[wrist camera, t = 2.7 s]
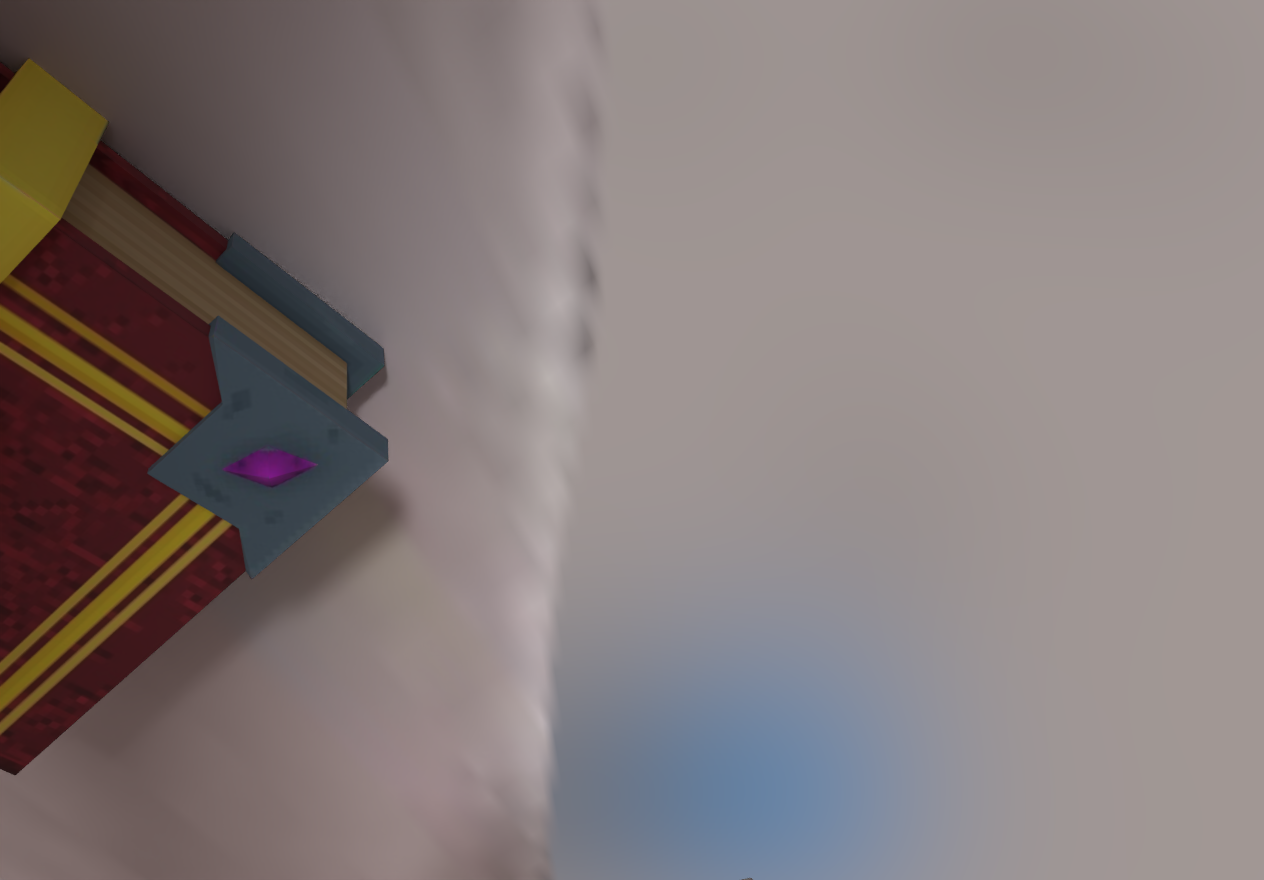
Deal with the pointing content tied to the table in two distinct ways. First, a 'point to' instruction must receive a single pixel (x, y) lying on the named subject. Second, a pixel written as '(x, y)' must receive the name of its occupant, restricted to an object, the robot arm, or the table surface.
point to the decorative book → (143, 413)
